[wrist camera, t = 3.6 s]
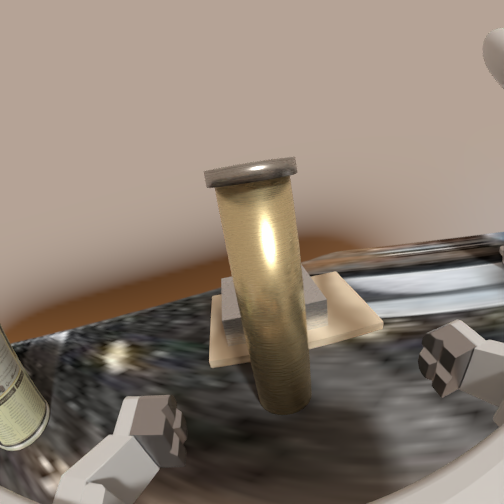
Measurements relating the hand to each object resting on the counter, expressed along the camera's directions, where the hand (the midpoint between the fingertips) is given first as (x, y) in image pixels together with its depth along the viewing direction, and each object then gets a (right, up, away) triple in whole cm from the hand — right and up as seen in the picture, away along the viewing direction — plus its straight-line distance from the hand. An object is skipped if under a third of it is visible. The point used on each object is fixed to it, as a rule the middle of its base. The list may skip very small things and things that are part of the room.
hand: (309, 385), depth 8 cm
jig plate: (+3, -4, +29) cm, 30 cm away
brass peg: (+1, -9, +16) cm, 18 cm away
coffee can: (-29, -16, +12) cm, 35 cm away
